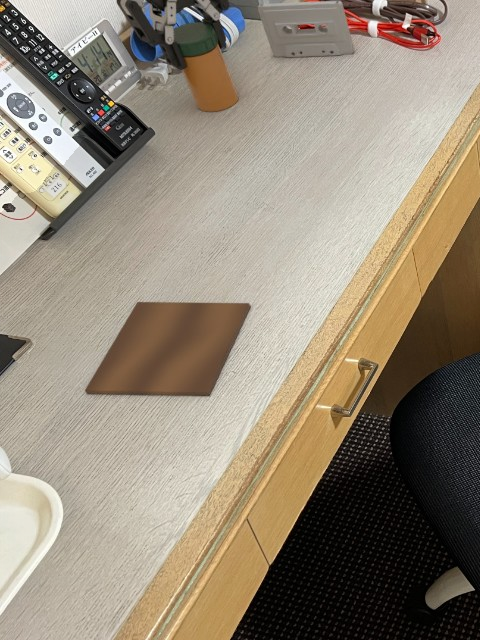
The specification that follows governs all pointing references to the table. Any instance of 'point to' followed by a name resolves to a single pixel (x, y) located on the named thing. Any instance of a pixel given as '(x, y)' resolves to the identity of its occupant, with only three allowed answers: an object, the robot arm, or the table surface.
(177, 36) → the lid
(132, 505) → the table surface
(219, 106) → the jar
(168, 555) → the table surface
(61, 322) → the table surface
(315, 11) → the cassette
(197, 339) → the coaster
